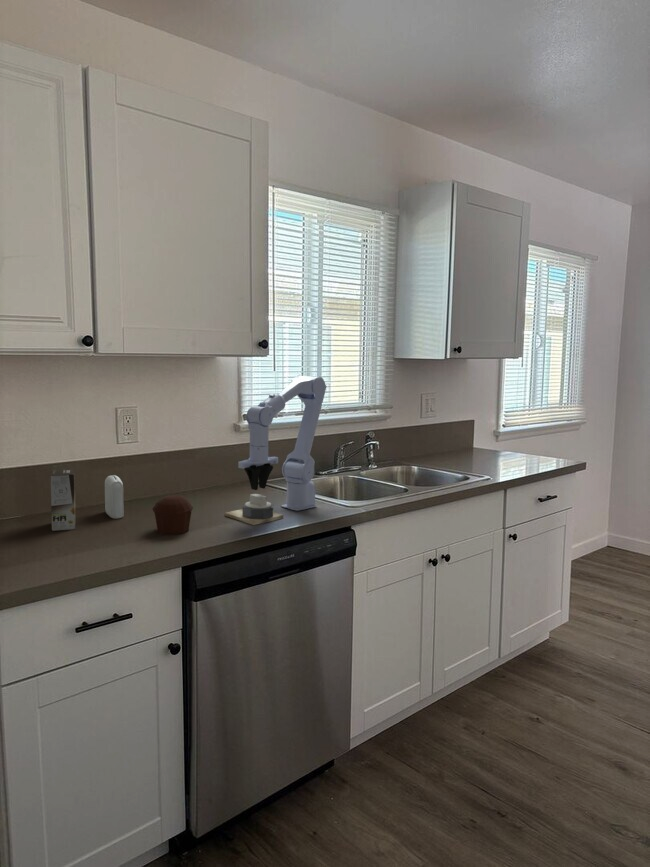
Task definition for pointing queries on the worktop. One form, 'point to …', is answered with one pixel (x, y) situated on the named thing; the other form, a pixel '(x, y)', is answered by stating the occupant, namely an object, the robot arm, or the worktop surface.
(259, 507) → the white flanged knob
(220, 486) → the worktop surface
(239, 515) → the mount board
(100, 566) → the worktop surface
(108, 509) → the grey rounded upright block
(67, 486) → the coffee box
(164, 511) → the muffin
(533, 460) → the worktop surface
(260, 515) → the grey faceted ring
